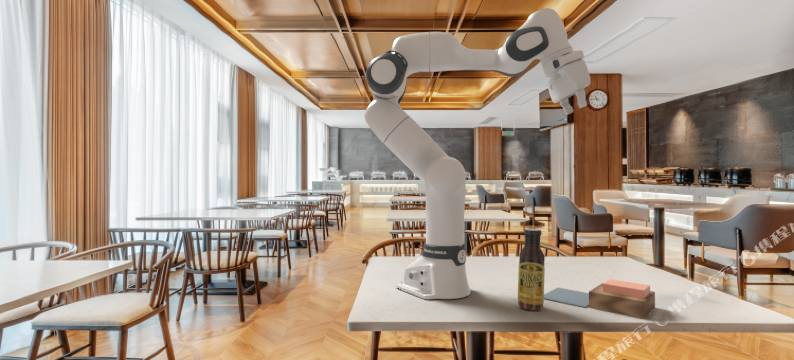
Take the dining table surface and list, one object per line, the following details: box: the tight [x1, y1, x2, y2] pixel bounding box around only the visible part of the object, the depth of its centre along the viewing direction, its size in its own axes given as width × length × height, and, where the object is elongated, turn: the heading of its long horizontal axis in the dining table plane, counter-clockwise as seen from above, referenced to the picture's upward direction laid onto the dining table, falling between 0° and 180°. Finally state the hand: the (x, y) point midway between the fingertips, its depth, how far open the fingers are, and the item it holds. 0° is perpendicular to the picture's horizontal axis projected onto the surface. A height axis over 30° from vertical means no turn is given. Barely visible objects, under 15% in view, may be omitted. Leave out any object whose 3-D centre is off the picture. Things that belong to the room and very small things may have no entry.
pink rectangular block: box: [602, 278, 651, 299], centre depth 95 cm, size 9×6×2 cm, turn 46°
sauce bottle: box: [517, 228, 546, 311], centre depth 96 cm, size 6×6×20 cm
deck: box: [588, 282, 656, 320], centre depth 96 cm, size 12×11×4 cm
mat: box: [544, 287, 589, 309], centre depth 104 cm, size 12×13×1 cm
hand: (576, 110), depth 108 cm, fingers open, 8 cm apart
